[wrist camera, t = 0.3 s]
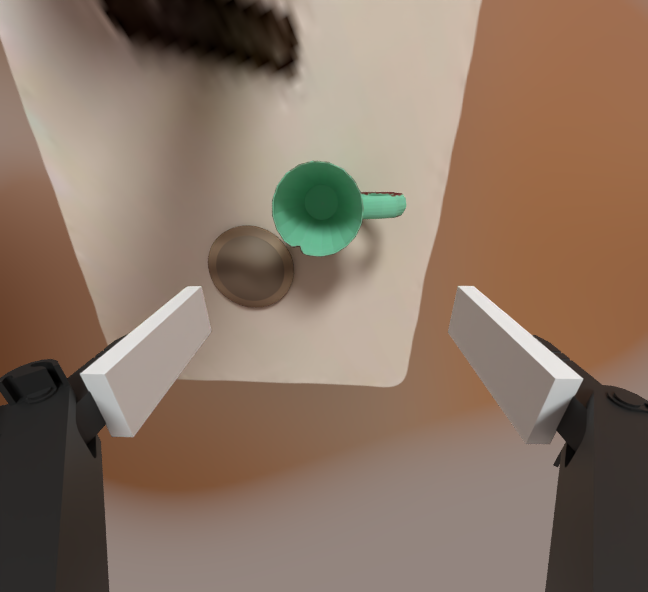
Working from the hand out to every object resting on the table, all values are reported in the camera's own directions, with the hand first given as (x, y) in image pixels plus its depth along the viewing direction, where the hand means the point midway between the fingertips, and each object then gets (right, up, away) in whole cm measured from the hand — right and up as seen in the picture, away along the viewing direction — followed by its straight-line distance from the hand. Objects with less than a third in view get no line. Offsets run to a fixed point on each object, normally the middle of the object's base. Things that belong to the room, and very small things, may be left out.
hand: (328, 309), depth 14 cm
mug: (+2, +14, +24) cm, 28 cm away
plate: (-11, +5, +28) cm, 31 cm away
